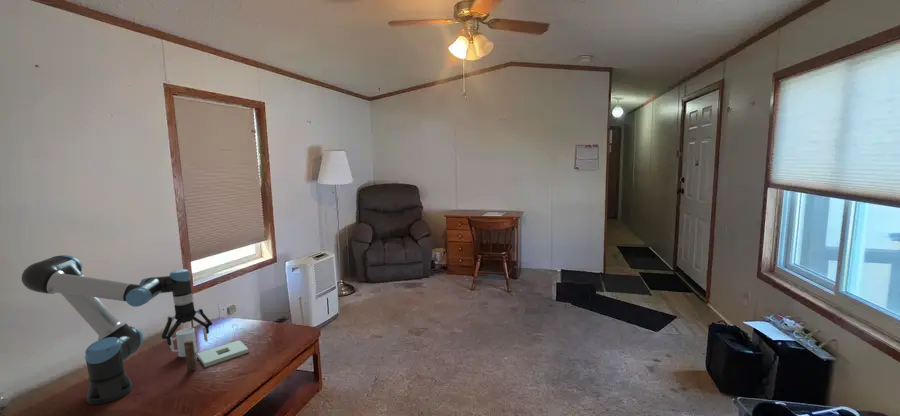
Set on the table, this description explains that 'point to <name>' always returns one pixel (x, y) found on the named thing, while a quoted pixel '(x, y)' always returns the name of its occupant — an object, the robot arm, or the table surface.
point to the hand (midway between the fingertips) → (189, 345)
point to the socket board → (212, 354)
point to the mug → (184, 340)
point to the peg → (190, 356)
